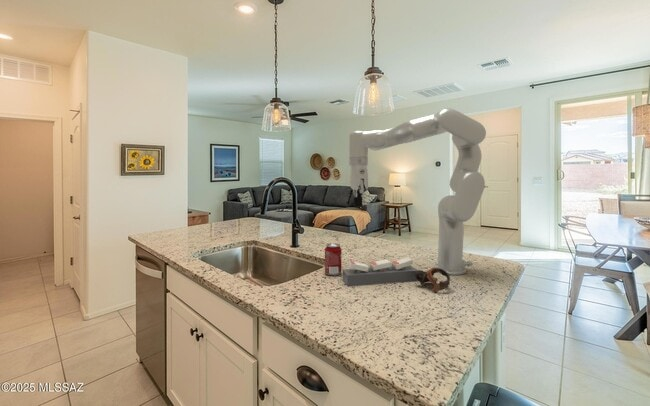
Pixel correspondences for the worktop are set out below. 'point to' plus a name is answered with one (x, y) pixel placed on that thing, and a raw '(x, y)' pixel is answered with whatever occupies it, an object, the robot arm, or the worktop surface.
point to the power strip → (379, 276)
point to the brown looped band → (429, 277)
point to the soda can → (333, 259)
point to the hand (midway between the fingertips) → (358, 206)
